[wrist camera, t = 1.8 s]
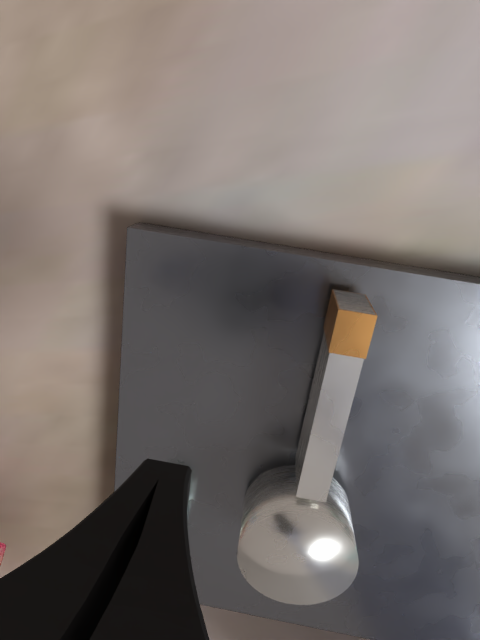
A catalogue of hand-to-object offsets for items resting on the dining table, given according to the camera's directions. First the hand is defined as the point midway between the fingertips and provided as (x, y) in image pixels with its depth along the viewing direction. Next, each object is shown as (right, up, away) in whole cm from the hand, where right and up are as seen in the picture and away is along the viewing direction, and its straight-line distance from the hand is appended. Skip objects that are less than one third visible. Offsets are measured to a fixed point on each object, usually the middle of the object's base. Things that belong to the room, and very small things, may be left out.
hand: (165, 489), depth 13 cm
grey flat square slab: (+6, -2, +9) cm, 11 cm away
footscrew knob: (+5, 0, +7) cm, 9 cm away
